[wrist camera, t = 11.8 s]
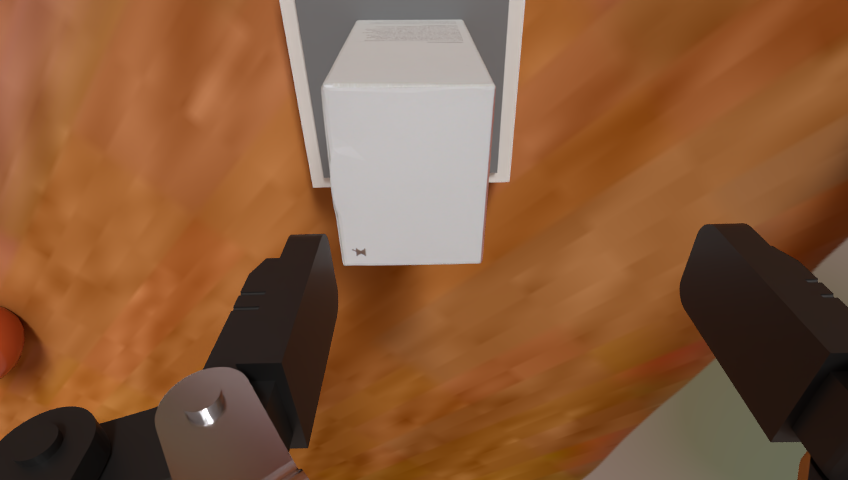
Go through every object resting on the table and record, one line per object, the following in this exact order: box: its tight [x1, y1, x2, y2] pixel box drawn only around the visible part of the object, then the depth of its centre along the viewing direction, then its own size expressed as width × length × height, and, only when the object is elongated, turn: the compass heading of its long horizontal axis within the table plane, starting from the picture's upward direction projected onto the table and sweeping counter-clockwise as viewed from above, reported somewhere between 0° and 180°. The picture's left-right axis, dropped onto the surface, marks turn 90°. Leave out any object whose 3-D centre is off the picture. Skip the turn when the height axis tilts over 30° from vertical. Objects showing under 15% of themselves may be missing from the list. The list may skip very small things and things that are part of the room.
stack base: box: [279, 0, 525, 188], centre depth 31 cm, size 14×14×4 cm
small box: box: [321, 19, 496, 266], centre depth 24 cm, size 8×6×13 cm
